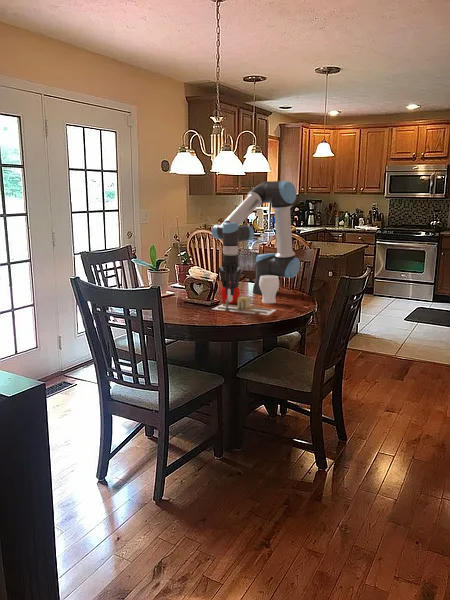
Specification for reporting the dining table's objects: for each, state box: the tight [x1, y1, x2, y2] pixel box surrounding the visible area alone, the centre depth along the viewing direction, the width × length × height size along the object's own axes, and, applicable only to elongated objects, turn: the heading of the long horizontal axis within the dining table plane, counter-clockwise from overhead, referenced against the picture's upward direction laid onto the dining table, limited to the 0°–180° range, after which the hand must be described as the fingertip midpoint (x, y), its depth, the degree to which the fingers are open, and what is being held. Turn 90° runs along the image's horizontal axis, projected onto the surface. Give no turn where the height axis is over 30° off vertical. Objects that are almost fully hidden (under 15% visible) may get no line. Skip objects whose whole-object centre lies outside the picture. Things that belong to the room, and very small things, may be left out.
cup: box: [259, 275, 280, 304], centre depth 267 cm, size 11×11×15 cm
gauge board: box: [212, 300, 277, 316], centre depth 250 cm, size 12×30×7 cm, turn 65°
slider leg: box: [237, 296, 252, 311], centre depth 249 cm, size 8×5×6 cm, turn 155°
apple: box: [220, 286, 240, 305], centre depth 266 cm, size 10×10×12 cm
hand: (230, 301), depth 253 cm, fingers closed
